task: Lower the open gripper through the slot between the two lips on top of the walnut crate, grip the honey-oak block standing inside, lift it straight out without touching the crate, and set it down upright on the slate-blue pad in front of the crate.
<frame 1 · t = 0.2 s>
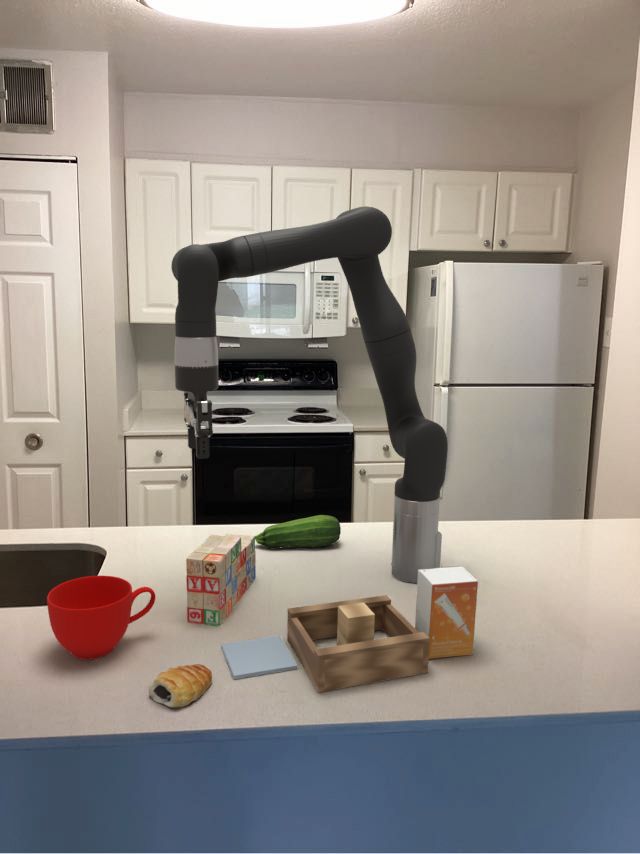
hand: (198, 452, 123), 29 cm above the counter, tool pointing down, fingers open, 8 cm apart
crate: (354, 655, 111), on the counter
small box: (443, 649, 114), on the counter
ceramic cup: (105, 647, 113), on the counter
block: (354, 656, 111), resting in crate
pad: (258, 657, 110), on the counter
vegetable: (297, 547, 159), on the counter
pastry: (180, 694, 100), on the counter
stack of blocks: (224, 600, 131), on the counter
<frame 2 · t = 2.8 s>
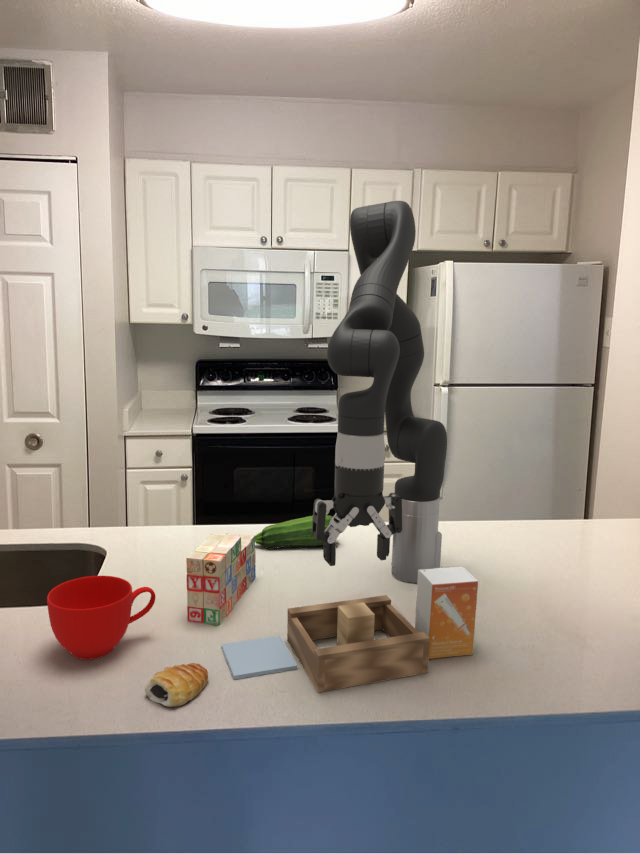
hand: (356, 561, 108), 16 cm above the counter, tool pointing down, fingers open, 8 cm apart
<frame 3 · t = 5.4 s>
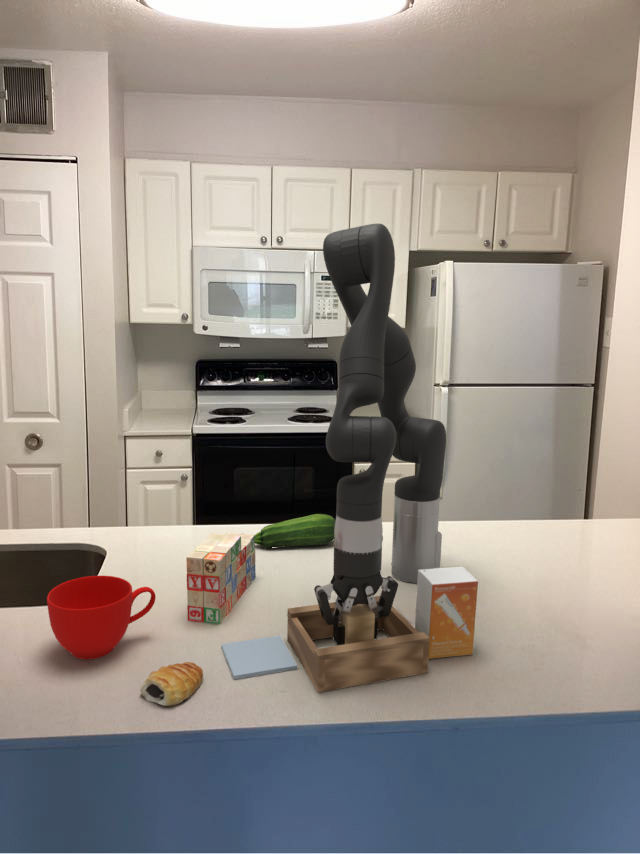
hand: (355, 642, 110), 2 cm above the counter, tool pointing down, fingers closed on block, 4 cm apart
block: (354, 655, 111), resting in crate, touching gripper
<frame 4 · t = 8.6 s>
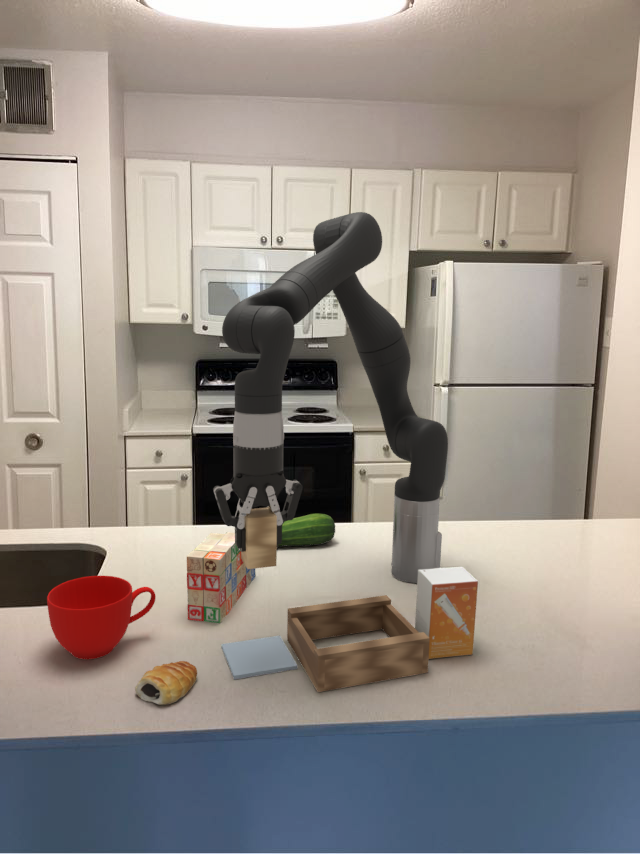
hand: (258, 547, 106), 19 cm above the counter, tool pointing down, fingers closed on block, 4 cm apart
block: (258, 562, 107), point 16 cm above the counter, touching gripper
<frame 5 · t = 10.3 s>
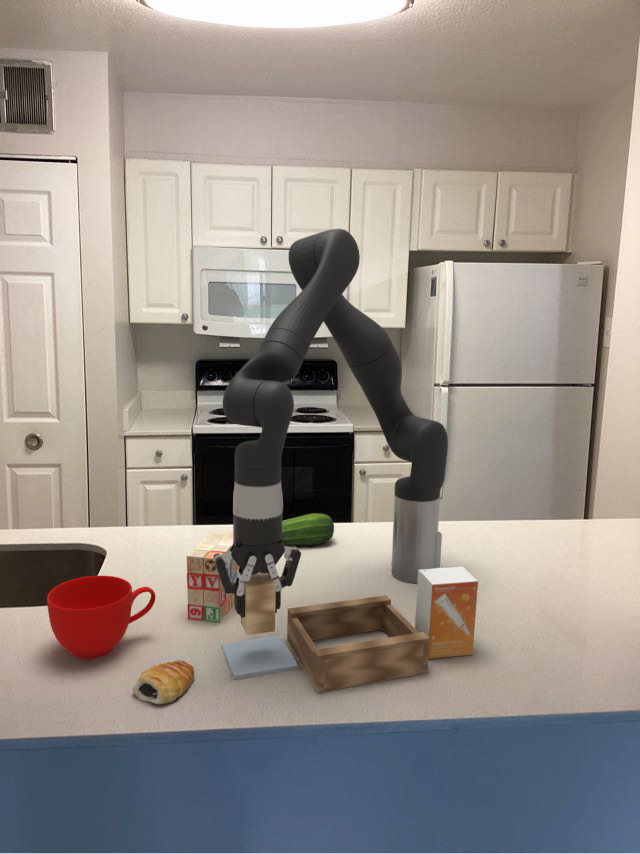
hand: (257, 612, 108), 8 cm above the counter, tool pointing down, fingers closed on block, 4 cm apart
block: (257, 626, 109), point 5 cm above the counter, touching gripper
when the fingers open (4 cm above the counter, at t = 11.9 s): block drops 1 cm, resting on pad.
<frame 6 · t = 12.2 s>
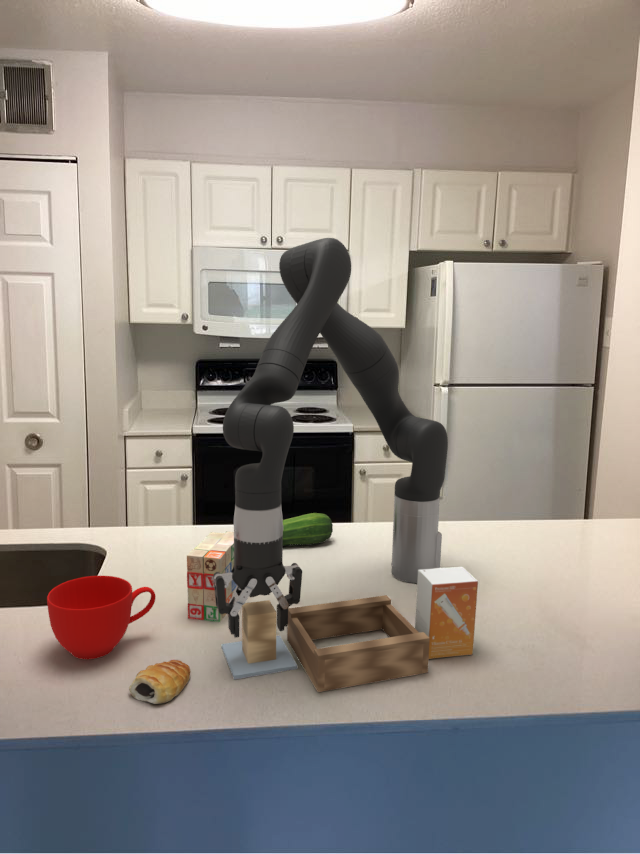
hand: (258, 631, 109), 5 cm above the counter, tool pointing down, fingers open, 6 cm apart
block: (258, 654, 110), point 1 cm above the counter, touching pad
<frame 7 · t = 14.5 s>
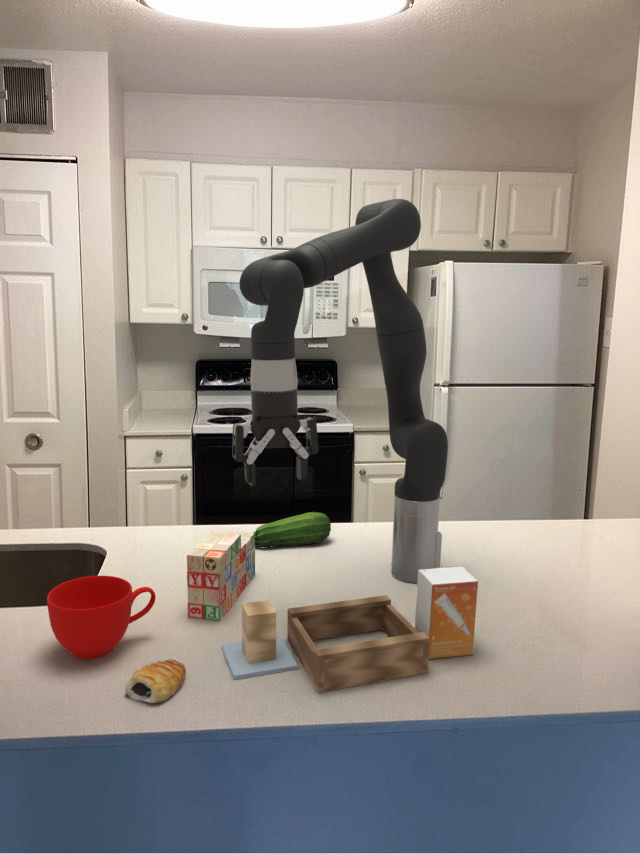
hand: (276, 482, 115), 26 cm above the counter, tool pointing down, fingers open, 8 cm apart
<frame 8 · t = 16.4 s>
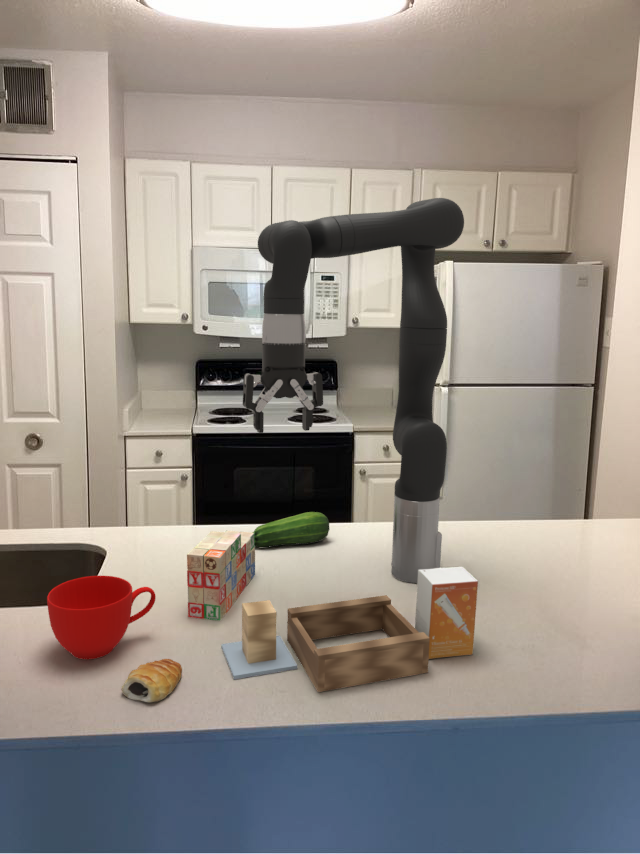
hand: (283, 431, 123), 33 cm above the counter, tool pointing down, fingers open, 8 cm apart
at the end: block inside the target area on the pad (0.1 cm from its centre), point 0.6 cm above the pad's base; block tilted 0°; the gripper is holding nothing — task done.
